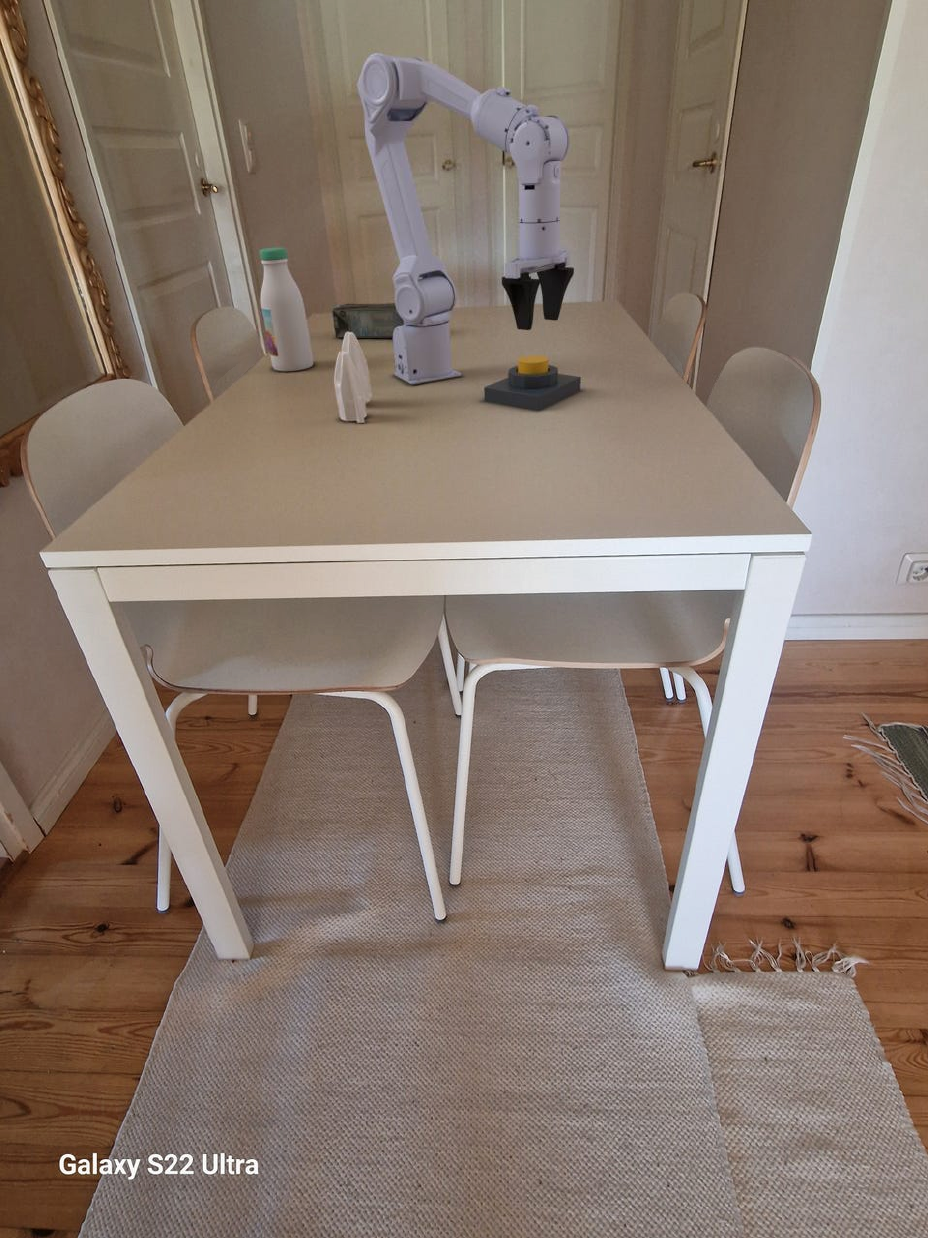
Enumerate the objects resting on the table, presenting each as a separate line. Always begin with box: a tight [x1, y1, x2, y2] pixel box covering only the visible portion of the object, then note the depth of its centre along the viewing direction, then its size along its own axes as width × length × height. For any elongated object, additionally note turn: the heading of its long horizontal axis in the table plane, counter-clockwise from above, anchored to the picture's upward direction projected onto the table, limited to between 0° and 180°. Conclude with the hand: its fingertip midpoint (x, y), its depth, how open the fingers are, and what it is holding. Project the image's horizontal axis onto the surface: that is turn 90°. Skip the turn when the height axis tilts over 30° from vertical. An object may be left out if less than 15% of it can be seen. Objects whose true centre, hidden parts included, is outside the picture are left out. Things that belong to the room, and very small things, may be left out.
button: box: [517, 354, 549, 374], centre depth 105 cm, size 5×5×2 cm
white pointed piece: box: [333, 332, 373, 424], centre depth 102 cm, size 12×4×11 cm, turn 179°
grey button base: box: [483, 364, 582, 412], centre depth 106 cm, size 12×10×4 cm
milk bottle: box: [259, 247, 314, 372], centre depth 125 cm, size 8×8×20 cm
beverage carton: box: [331, 302, 405, 339], centre depth 149 cm, size 8×19×7 cm, turn 74°
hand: (538, 324), depth 104 cm, fingers open, 7 cm apart
